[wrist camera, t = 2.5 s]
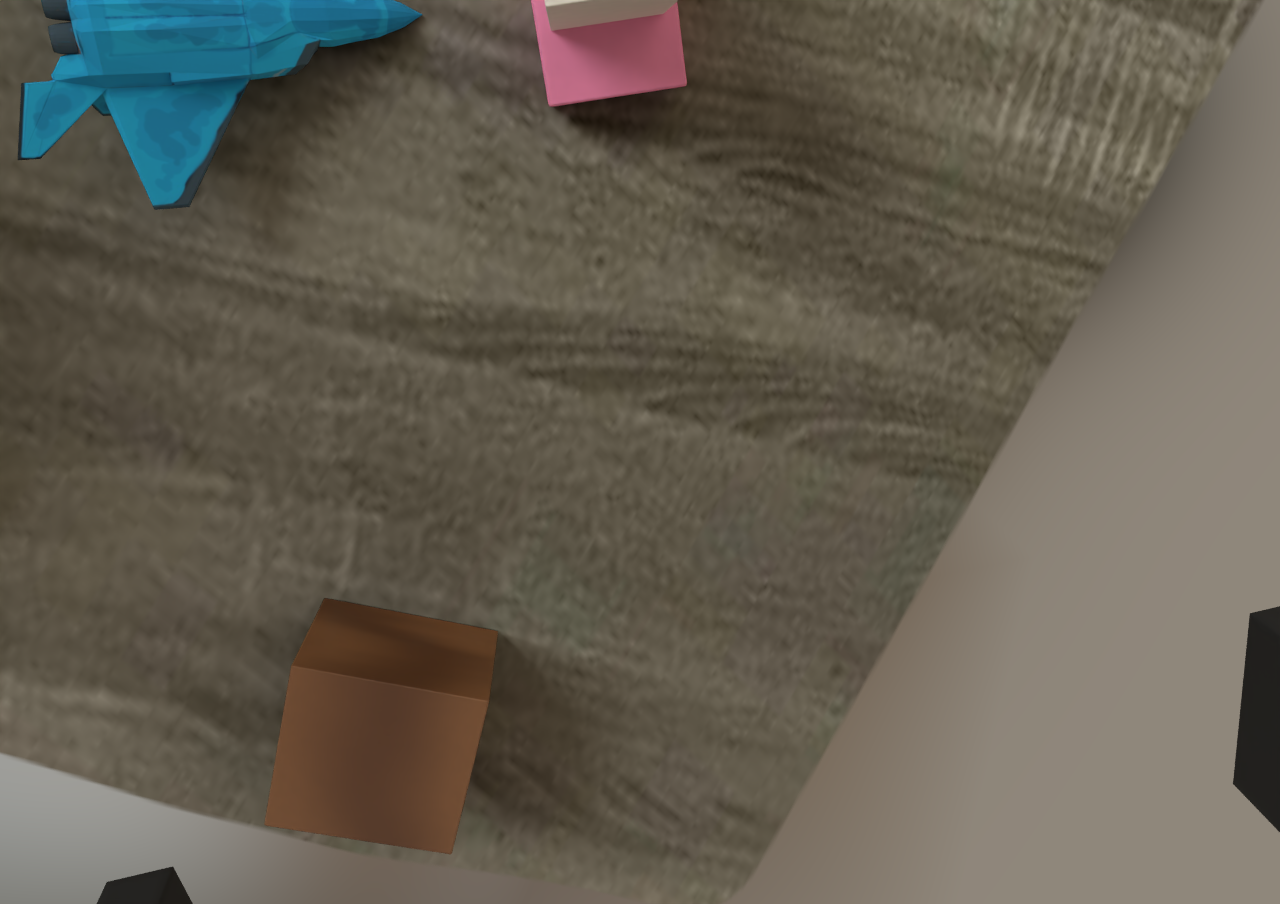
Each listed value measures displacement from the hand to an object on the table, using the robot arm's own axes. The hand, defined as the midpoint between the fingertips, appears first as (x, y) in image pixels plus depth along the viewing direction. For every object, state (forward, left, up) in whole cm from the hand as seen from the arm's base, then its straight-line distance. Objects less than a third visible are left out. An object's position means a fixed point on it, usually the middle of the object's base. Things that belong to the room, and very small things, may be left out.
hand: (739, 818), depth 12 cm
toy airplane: (-17, -1, -26) cm, 31 cm away
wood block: (+2, -17, -26) cm, 31 cm away
